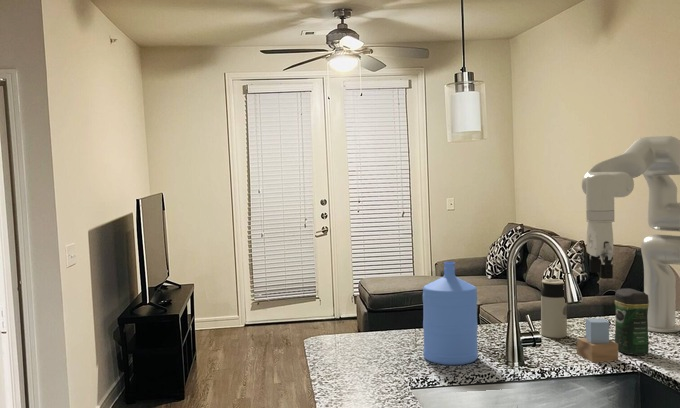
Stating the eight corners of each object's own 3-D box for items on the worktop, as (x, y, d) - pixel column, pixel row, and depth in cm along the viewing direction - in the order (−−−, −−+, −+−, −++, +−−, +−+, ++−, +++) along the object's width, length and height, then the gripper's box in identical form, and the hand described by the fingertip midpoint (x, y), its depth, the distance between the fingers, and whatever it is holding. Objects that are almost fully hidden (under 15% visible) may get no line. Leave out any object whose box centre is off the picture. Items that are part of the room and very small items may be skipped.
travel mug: (536, 335, 216) (536, 280, 215) (549, 331, 221) (549, 277, 220) (558, 339, 210) (558, 283, 209) (571, 335, 215) (571, 280, 214)
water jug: (486, 363, 186) (485, 265, 184) (432, 367, 183) (431, 267, 182) (466, 349, 201) (465, 258, 200) (416, 352, 198) (415, 260, 197)
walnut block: (577, 355, 193) (577, 338, 193) (602, 353, 195) (602, 336, 194) (592, 363, 185) (592, 345, 185) (618, 361, 187) (618, 343, 186)
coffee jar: (653, 355, 191) (654, 291, 190) (627, 356, 190) (628, 292, 189) (634, 346, 200) (635, 286, 199) (610, 348, 199) (610, 287, 198)
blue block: (603, 338, 192) (603, 318, 192) (609, 343, 187) (609, 322, 187) (585, 338, 192) (585, 318, 192) (590, 343, 187) (591, 322, 187)
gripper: (578, 214, 199) (579, 270, 200) (596, 219, 182) (597, 281, 183) (603, 213, 198) (604, 270, 199) (624, 218, 181) (625, 280, 182)
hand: (601, 275), depth 191 cm, fingers open, 9 cm apart
